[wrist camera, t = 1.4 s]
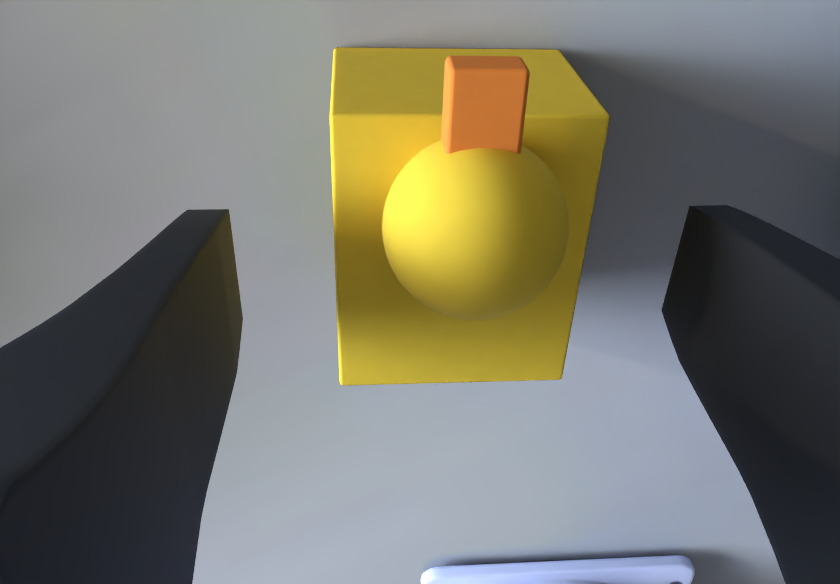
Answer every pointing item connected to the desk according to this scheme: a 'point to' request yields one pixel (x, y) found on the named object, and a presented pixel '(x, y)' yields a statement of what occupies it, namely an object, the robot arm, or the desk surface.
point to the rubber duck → (459, 211)
